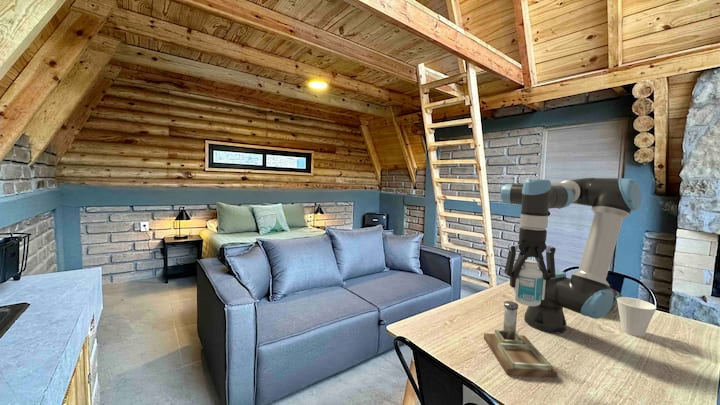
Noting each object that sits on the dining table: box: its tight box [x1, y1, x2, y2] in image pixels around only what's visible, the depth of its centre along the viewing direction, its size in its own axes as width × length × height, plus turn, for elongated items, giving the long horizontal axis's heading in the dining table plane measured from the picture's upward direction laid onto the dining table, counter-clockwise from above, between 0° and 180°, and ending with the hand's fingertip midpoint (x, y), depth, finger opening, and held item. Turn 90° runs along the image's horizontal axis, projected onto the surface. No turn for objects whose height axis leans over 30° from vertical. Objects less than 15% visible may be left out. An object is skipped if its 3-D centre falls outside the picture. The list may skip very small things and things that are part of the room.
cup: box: [617, 296, 657, 337], centre depth 121 cm, size 12×12×12 cm
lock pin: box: [502, 300, 519, 340], centre depth 109 cm, size 5×5×14 cm
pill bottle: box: [514, 259, 543, 307], centre depth 97 cm, size 8×7×14 cm
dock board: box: [483, 329, 558, 379], centre depth 103 cm, size 15×21×4 cm
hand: (527, 297), depth 97 cm, fingers closed on pill bottle, 7 cm apart
